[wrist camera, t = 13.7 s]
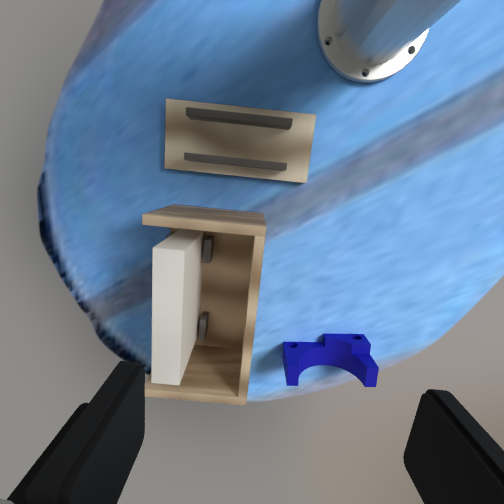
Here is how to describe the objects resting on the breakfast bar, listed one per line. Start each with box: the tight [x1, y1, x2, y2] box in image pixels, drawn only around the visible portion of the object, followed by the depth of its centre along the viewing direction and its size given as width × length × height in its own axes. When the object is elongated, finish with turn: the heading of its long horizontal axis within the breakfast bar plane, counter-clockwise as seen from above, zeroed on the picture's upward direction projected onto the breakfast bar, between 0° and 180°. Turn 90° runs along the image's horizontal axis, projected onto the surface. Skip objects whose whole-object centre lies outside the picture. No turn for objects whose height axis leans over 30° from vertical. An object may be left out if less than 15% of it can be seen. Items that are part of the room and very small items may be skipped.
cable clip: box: [283, 334, 379, 387], centre depth 40 cm, size 12×4×6 cm, turn 89°
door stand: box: [165, 98, 316, 183], centre depth 34 cm, size 8×18×4 cm, turn 84°
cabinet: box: [142, 204, 266, 405], centre depth 35 cm, size 21×12×11 cm, turn 174°
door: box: [151, 229, 205, 385], centre depth 34 cm, size 15×4×11 cm, turn 174°
